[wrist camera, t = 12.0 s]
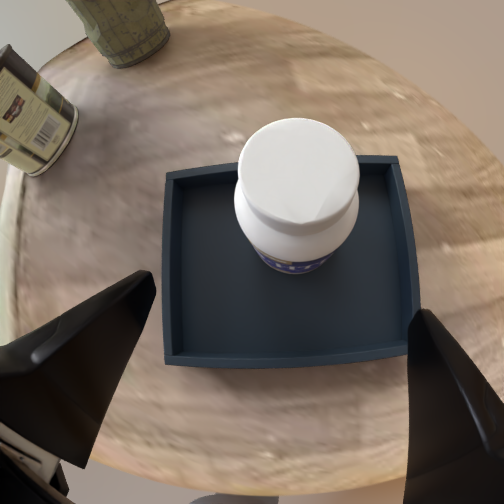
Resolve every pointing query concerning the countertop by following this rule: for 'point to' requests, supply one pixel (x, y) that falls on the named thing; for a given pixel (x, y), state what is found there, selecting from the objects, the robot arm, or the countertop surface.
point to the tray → (285, 280)
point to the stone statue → (123, 28)
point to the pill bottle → (297, 193)
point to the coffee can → (31, 116)
